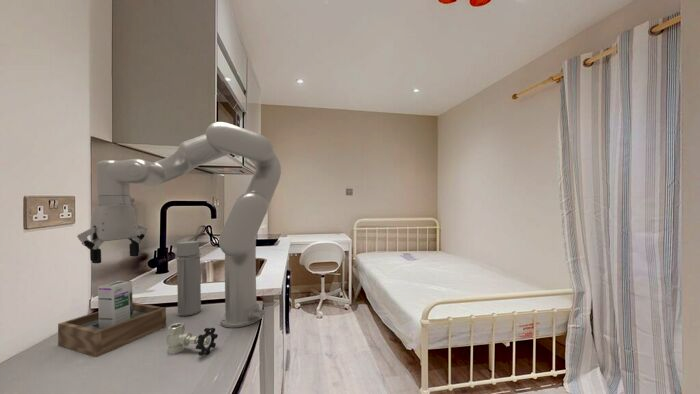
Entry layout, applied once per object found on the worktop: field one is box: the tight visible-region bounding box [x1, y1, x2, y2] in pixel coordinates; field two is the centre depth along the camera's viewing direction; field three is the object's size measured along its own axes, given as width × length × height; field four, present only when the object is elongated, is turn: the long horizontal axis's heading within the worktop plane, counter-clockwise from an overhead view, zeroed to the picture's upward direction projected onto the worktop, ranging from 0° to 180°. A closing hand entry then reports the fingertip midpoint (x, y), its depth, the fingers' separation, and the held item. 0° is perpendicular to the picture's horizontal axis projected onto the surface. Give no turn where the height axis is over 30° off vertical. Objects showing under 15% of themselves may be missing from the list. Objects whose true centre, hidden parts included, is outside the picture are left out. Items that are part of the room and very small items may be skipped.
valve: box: [166, 322, 219, 357], centre depth 72 cm, size 7×7×12 cm
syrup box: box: [97, 280, 134, 329], centre depth 83 cm, size 6×6×14 cm
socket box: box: [57, 302, 167, 358], centre depth 82 cm, size 18×18×6 cm
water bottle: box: [175, 240, 202, 317], centre depth 98 cm, size 9×8×25 cm
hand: (116, 259), depth 83 cm, fingers open, 9 cm apart
